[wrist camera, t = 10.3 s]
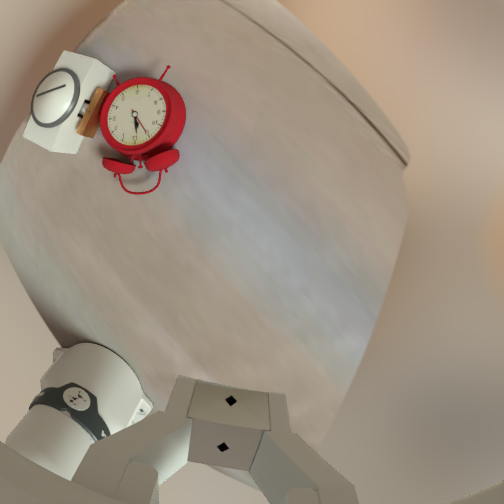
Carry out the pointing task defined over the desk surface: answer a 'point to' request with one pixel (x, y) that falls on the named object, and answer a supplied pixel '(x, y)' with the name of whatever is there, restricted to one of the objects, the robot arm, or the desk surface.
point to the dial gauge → (65, 101)
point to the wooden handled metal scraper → (92, 114)
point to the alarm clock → (143, 125)
